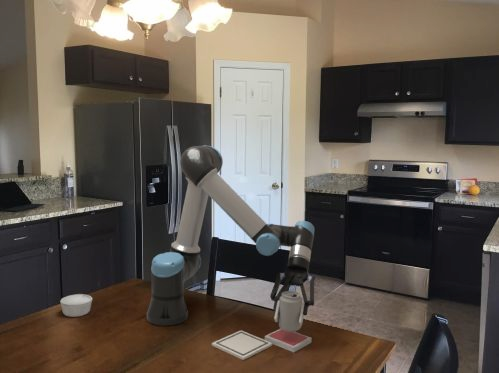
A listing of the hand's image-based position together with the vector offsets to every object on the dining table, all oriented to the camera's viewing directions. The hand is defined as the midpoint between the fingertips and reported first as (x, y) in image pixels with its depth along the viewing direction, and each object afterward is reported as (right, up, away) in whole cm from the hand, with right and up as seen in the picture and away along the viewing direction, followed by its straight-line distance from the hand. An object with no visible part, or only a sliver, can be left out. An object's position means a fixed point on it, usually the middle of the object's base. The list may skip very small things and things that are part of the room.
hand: (288, 321), depth 150 cm
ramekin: (-78, -4, +24) cm, 82 cm away
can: (+1, -3, +4) cm, 5 cm away
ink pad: (0, -8, +4) cm, 9 cm away
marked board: (-15, -8, 0) cm, 17 cm away
